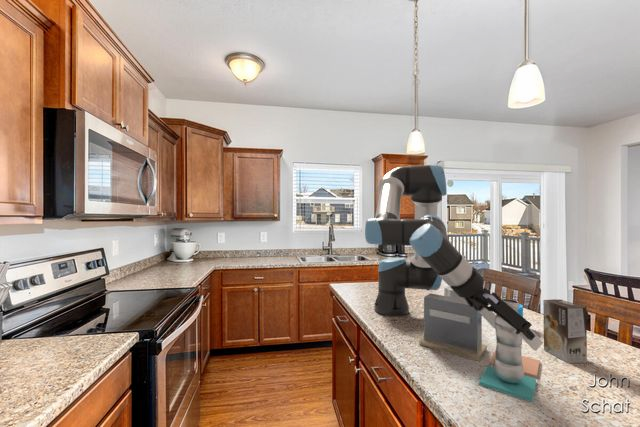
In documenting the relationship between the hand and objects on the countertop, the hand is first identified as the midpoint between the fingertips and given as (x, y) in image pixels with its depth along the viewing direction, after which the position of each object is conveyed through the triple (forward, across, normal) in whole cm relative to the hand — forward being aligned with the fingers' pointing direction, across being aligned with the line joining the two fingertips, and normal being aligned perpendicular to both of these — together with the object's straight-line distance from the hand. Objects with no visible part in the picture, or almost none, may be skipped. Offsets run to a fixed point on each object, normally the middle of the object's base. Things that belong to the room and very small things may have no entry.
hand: (516, 334), depth 76 cm
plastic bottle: (+6, 0, +10) cm, 12 cm away
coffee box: (+27, +13, -10) cm, 31 cm away
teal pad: (+7, 0, +10) cm, 12 cm away
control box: (+5, +21, +12) cm, 25 cm away
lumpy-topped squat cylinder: (+27, +69, -10) cm, 75 cm away
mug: (+28, +39, -10) cm, 49 cm away
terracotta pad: (+13, +9, +4) cm, 17 cm away
